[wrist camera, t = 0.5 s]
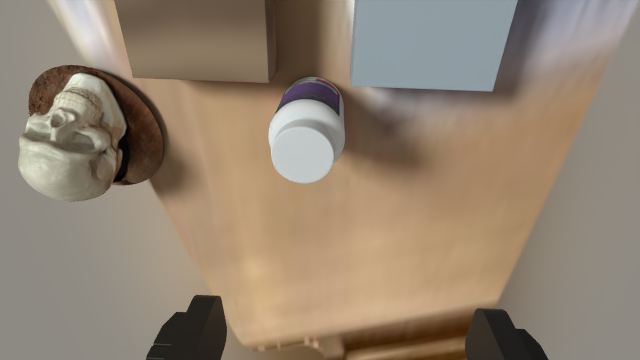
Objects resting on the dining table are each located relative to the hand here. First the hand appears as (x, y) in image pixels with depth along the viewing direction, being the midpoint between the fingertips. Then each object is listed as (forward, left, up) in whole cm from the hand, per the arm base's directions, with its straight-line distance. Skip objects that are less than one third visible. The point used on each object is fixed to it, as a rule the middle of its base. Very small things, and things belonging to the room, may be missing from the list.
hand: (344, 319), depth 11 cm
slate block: (-8, +6, -22) cm, 24 cm away
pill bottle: (0, -2, -22) cm, 22 cm away
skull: (+3, -22, -22) cm, 31 cm away
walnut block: (-8, -10, -22) cm, 25 cm away
